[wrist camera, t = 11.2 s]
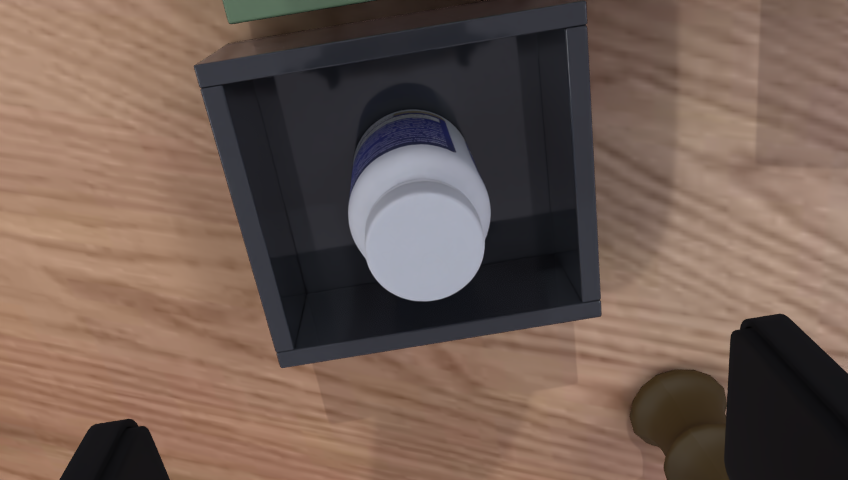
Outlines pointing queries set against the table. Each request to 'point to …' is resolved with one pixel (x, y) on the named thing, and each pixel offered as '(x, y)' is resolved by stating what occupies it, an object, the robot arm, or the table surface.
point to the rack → (276, 8)
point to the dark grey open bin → (334, 154)
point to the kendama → (684, 423)
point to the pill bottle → (418, 206)
